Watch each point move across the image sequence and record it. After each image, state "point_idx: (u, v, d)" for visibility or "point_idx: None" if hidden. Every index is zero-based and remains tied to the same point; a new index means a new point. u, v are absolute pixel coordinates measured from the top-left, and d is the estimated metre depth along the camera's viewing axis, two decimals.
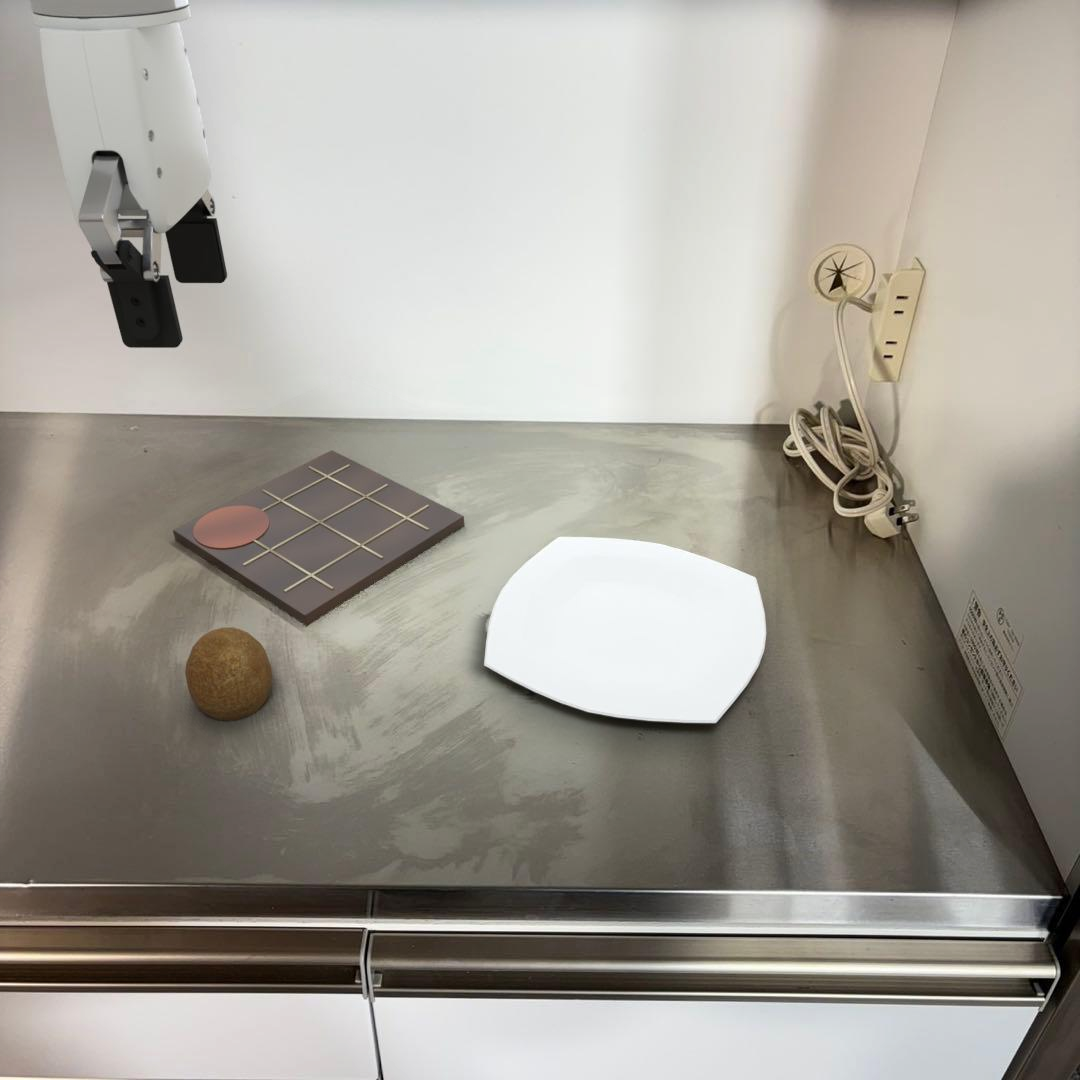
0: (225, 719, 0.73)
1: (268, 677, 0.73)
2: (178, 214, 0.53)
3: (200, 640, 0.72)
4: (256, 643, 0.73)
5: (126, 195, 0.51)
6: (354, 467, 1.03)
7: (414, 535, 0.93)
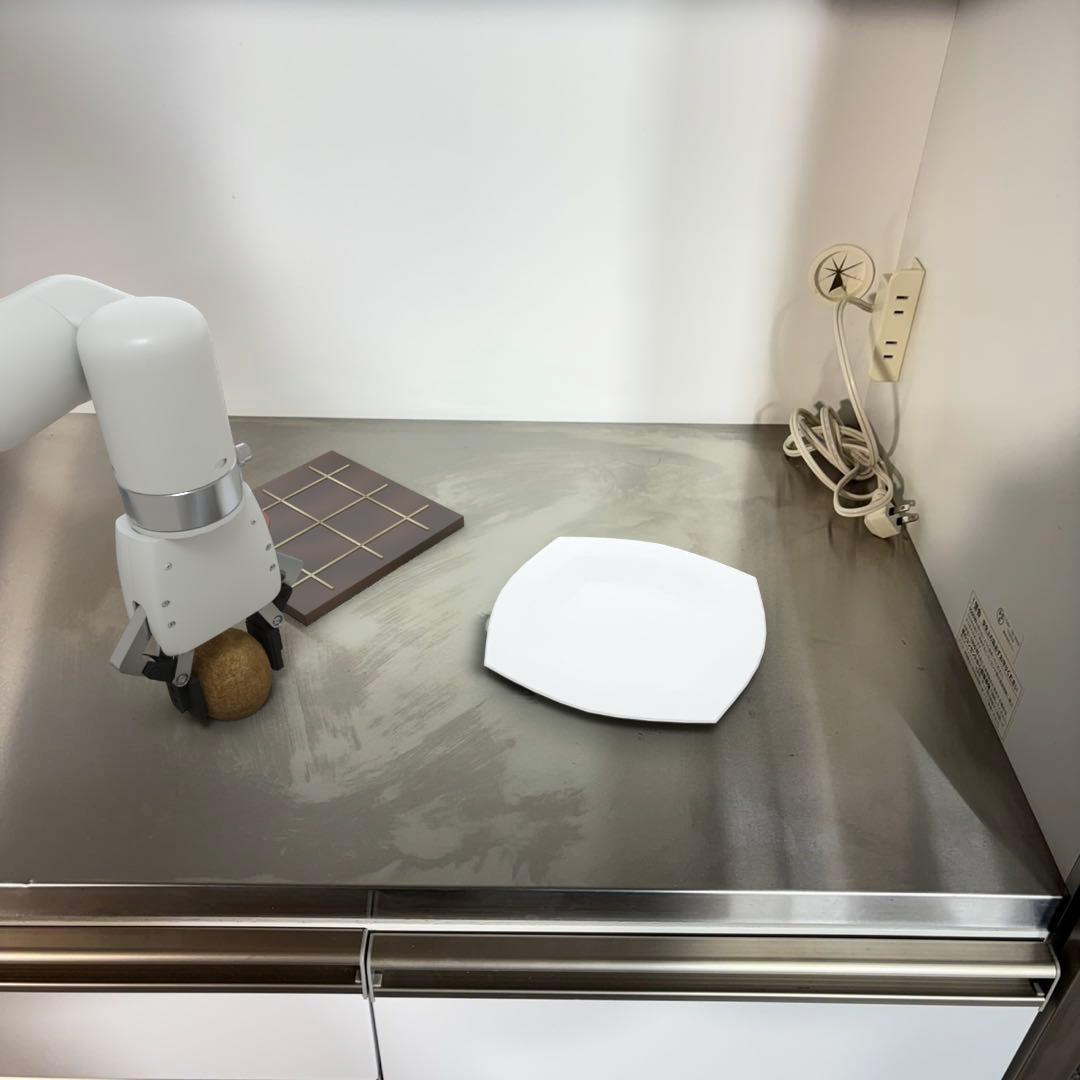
0: (225, 719, 0.73)
1: (268, 677, 0.73)
2: (200, 641, 0.67)
3: None
4: (256, 643, 0.73)
5: None
6: (354, 467, 1.03)
7: (414, 535, 0.93)
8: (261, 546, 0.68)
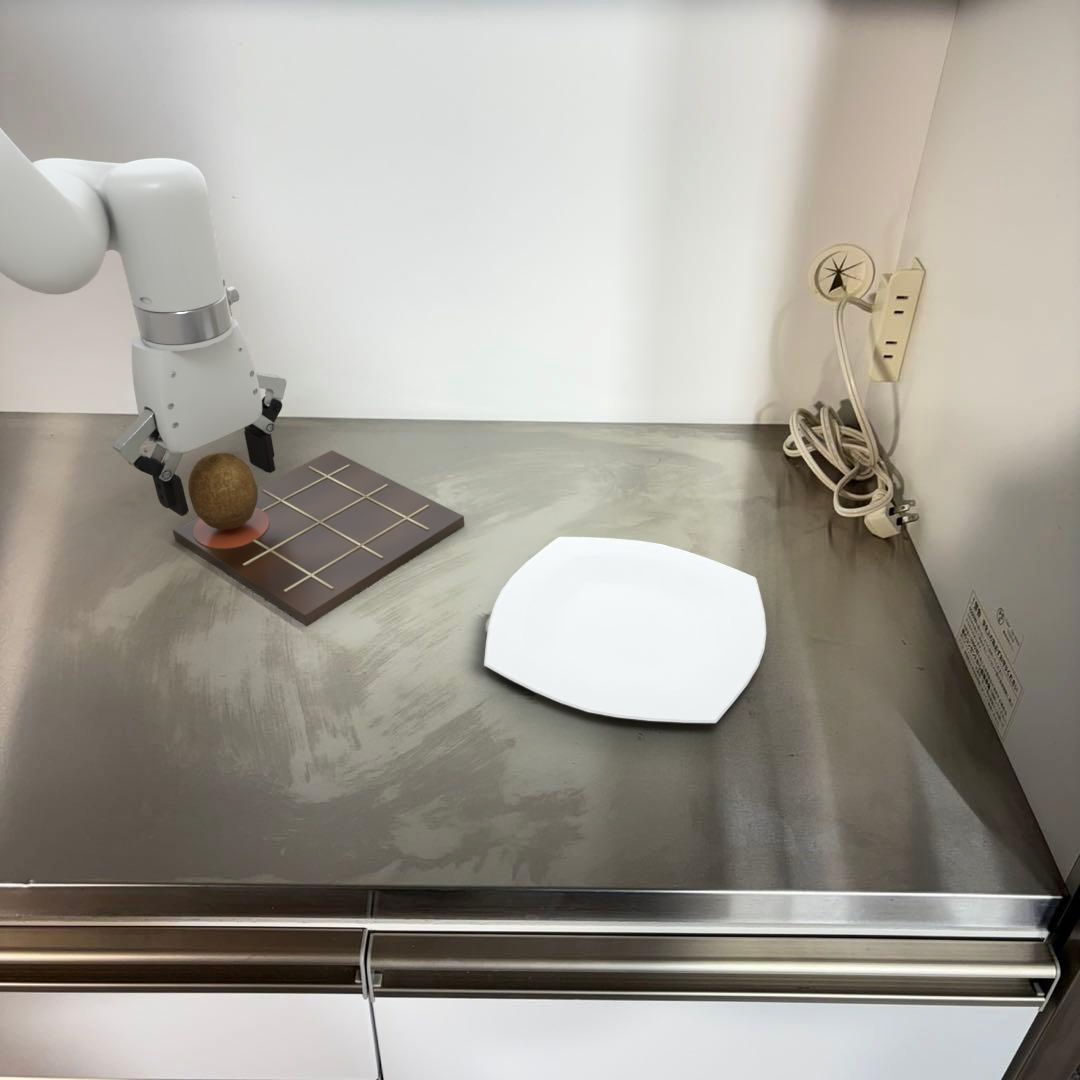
0: (220, 525, 0.91)
1: (254, 493, 0.92)
2: (197, 444, 0.85)
3: (200, 460, 0.90)
4: (245, 464, 0.91)
5: None
6: (354, 467, 1.03)
7: (414, 535, 0.93)
8: (246, 371, 0.86)
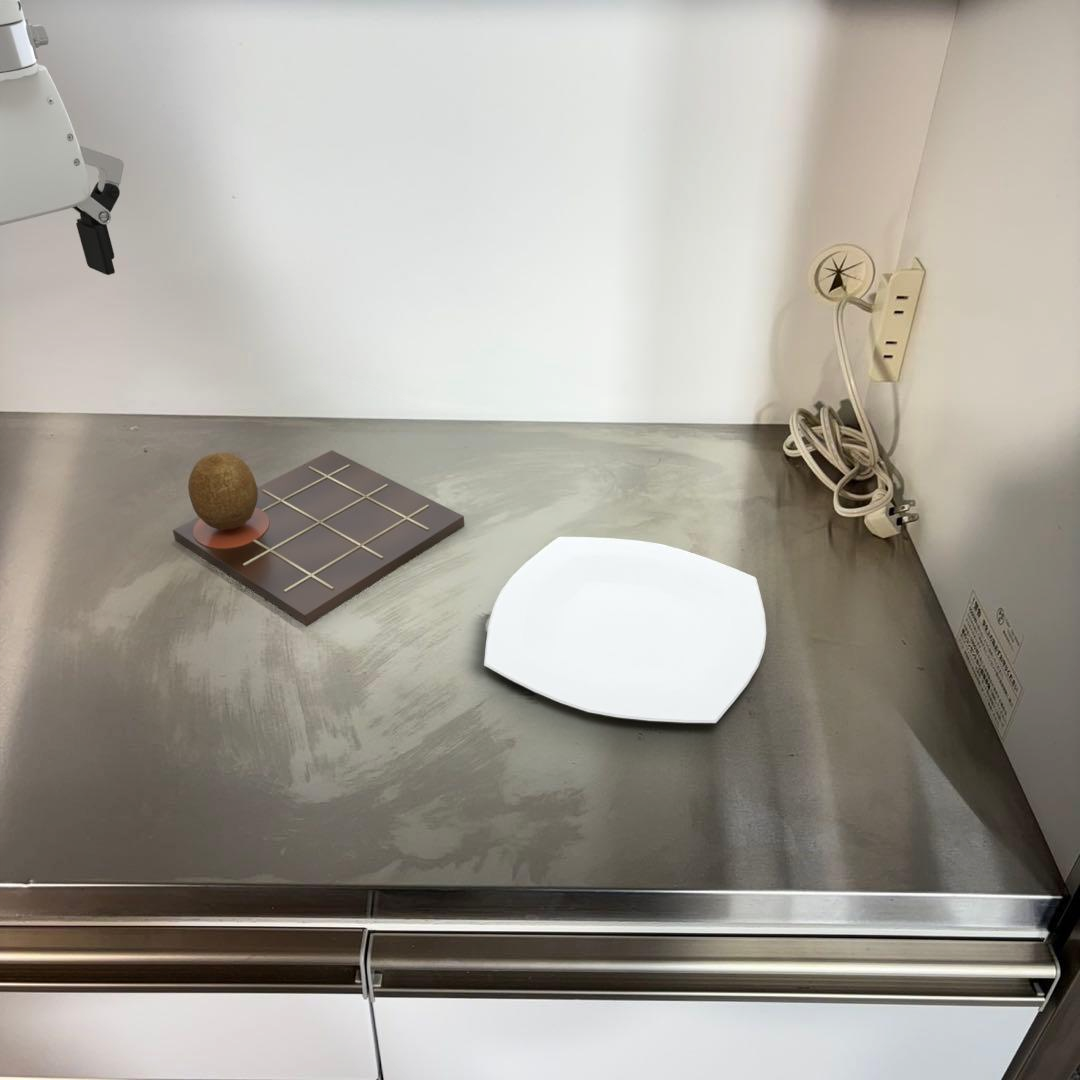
0: (220, 525, 0.91)
1: (254, 493, 0.92)
2: (2, 217, 0.71)
3: (200, 460, 0.90)
4: (245, 464, 0.91)
5: None
6: (354, 467, 1.03)
7: (414, 535, 0.93)
8: (61, 132, 0.72)
